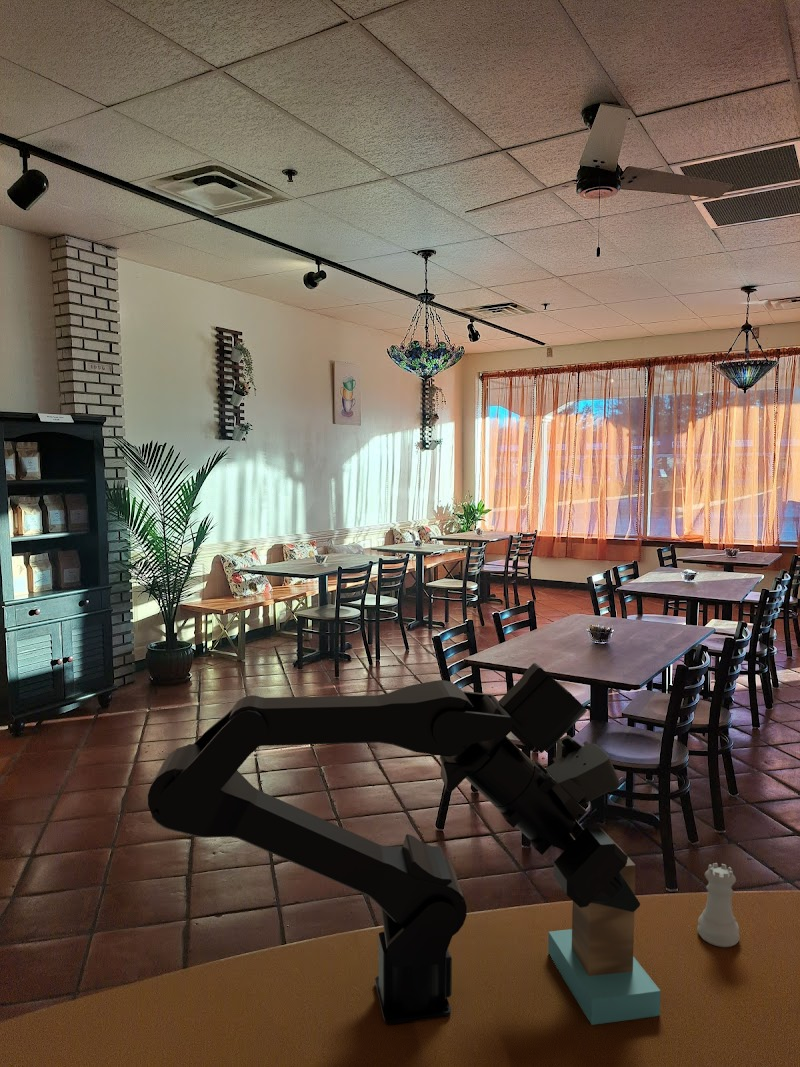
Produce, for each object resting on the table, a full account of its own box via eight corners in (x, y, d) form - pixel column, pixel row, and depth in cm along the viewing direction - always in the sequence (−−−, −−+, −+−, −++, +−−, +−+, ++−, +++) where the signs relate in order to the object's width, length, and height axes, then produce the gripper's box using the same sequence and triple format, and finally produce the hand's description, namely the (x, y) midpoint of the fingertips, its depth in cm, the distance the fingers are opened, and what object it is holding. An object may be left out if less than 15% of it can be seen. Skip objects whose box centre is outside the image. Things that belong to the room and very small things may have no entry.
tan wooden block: (588, 975, 76) (591, 868, 75) (571, 947, 80) (573, 846, 79) (632, 971, 76) (635, 865, 76) (613, 943, 81) (615, 843, 80)
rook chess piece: (732, 926, 88) (734, 859, 88) (745, 950, 84) (748, 880, 83) (692, 924, 89) (694, 857, 88) (703, 947, 84) (705, 877, 84)
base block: (591, 1025, 72) (592, 999, 72) (548, 953, 83) (548, 931, 83) (659, 1015, 74) (660, 990, 73) (608, 946, 84) (608, 924, 84)
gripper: (608, 757, 67) (721, 871, 69) (538, 696, 85) (629, 788, 87) (519, 851, 66) (636, 962, 68) (468, 769, 84) (562, 859, 87)
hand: (616, 882), depth 78 cm, fingers open, 9 cm apart
